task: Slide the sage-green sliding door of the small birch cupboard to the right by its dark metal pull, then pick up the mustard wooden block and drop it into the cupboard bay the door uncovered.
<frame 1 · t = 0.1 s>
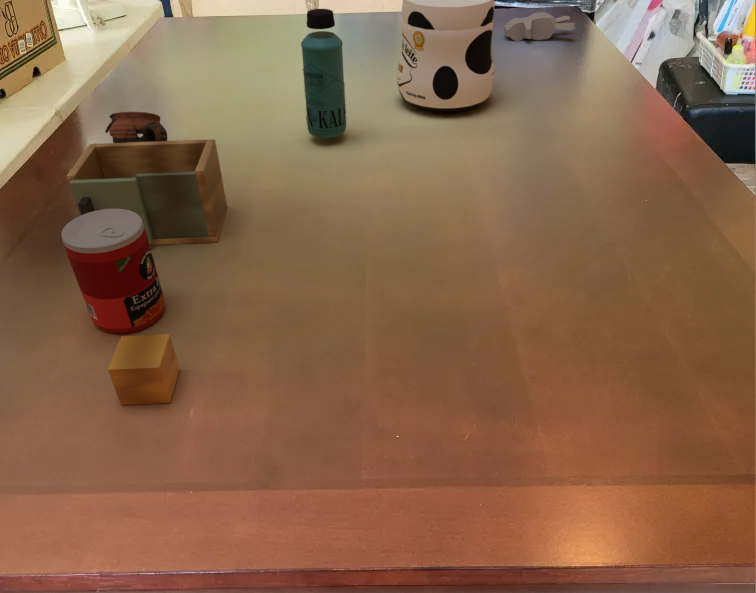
canned food: (130, 314, 72), on the table
closet door: (111, 216, 79), point 5 cm above the table, slide at 0.0 cm
bunny figurine: (537, 38, 150), on the table
cupboard: (161, 226, 87), on the table
beverage bottle: (328, 140, 108), on the table
milk container: (444, 102, 120), on the table
block: (151, 386, 63), on the table
pottery mug: (144, 157, 104), on the table
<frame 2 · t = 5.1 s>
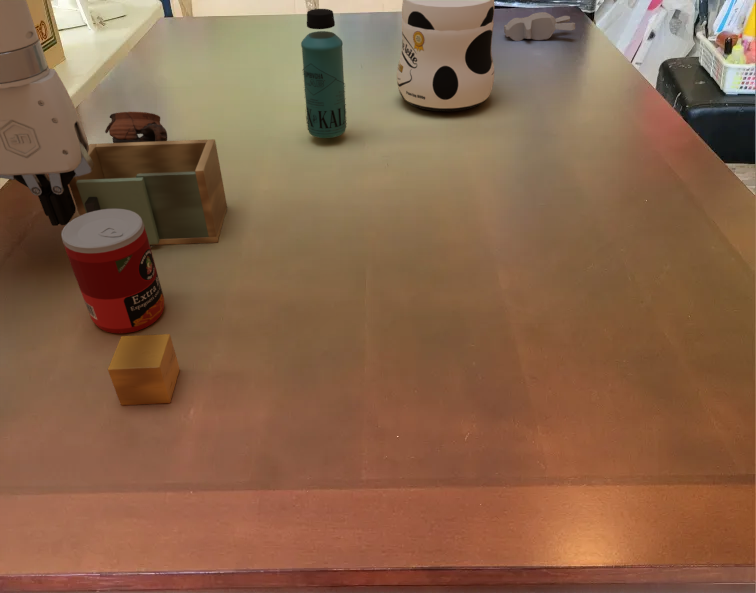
hand: (63, 219, 78), 6 cm above the table, tool pointing down, fingers closed
closet door: (117, 216, 79), point 5 cm above the table, slide at 0.8 cm, touching gripper
everything else where it was.
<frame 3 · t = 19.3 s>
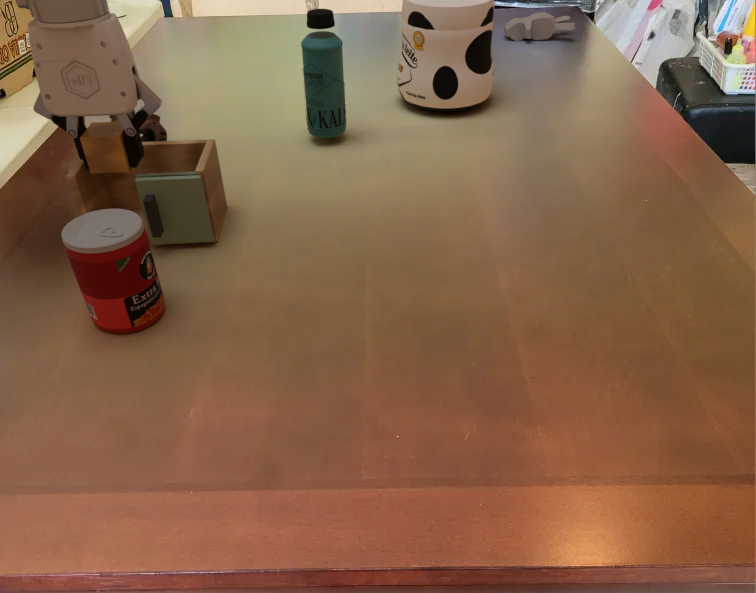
hand: (114, 162, 80), 10 cm above the table, tool pointing down, fingers closed on block, 4 cm apart
closet door: (174, 214, 79), point 5 cm above the table, slide at 7.5 cm
block: (115, 164, 80), point 9 cm above the table, touching gripper
everything else where it was.
when the fingers open (11 cm above the table, at t = 25.4 s): block drops 9 cm, resting on cupboard.
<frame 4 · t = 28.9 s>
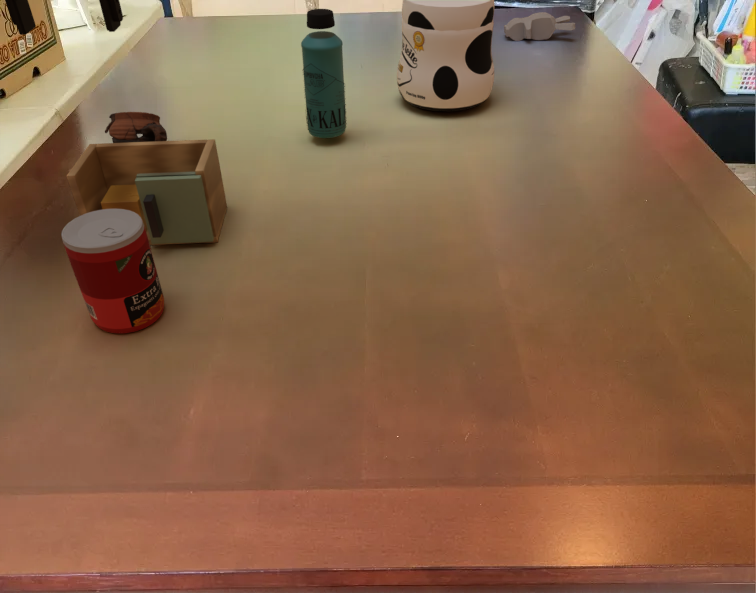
hand: (71, 30, 74), 24 cm above the table, tool pointing down, fingers open, 9 cm apart
block: (132, 224, 86), point 1 cm above the table, touching cupboard
everything else where it was.
at the end: closet door slide at 7.5 cm; block inside the target area on the cupboard (0.0 cm from its centre), point 0.8 cm above the cupboard's base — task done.
